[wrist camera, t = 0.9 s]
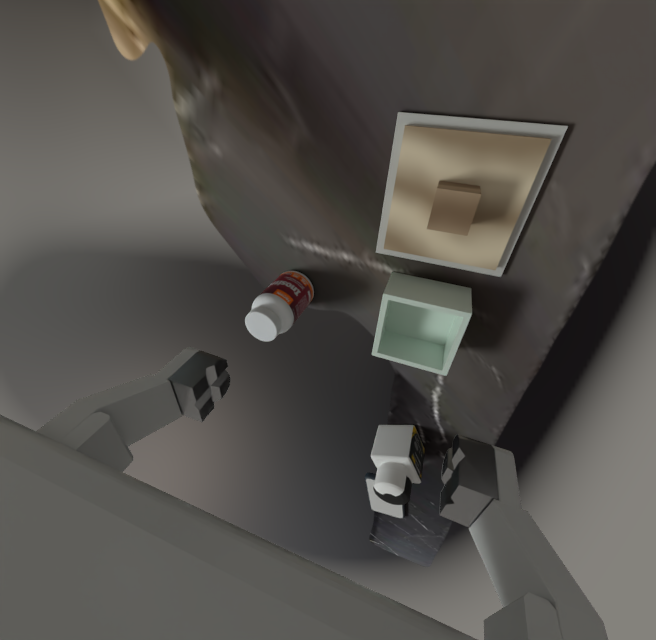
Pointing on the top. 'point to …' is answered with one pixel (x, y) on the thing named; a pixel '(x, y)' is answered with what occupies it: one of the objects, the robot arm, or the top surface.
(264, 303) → the pill bottle
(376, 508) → the phone case
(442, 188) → the lid
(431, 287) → the pale green storage bin
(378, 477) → the medicine bottle
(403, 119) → the mat
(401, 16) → the top surface
